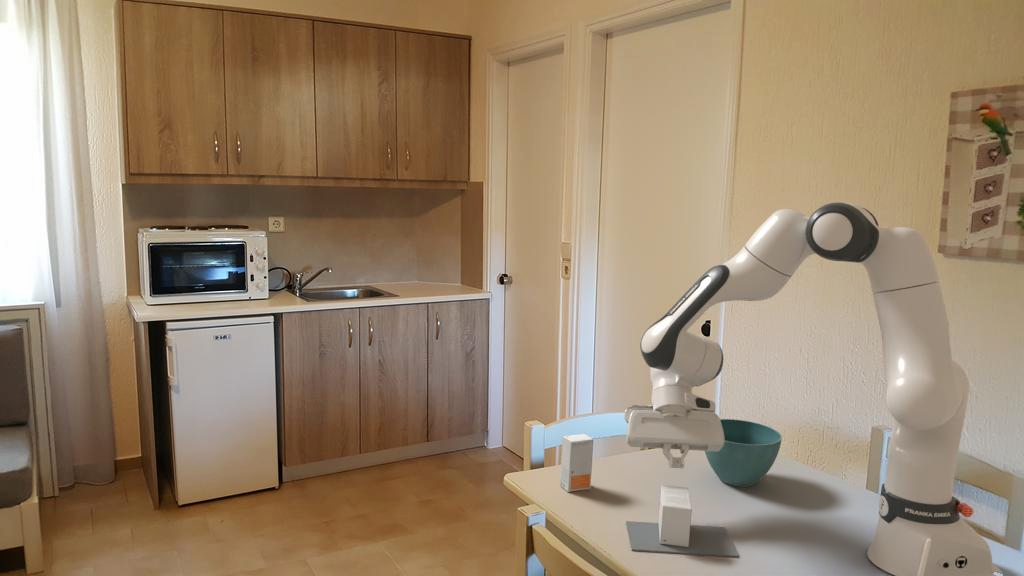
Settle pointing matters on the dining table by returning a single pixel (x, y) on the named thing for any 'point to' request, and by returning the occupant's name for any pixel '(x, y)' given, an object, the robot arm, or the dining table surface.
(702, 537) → the mat
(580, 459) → the skincare box
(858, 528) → the dining table surface
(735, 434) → the teal bowl
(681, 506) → the small box
